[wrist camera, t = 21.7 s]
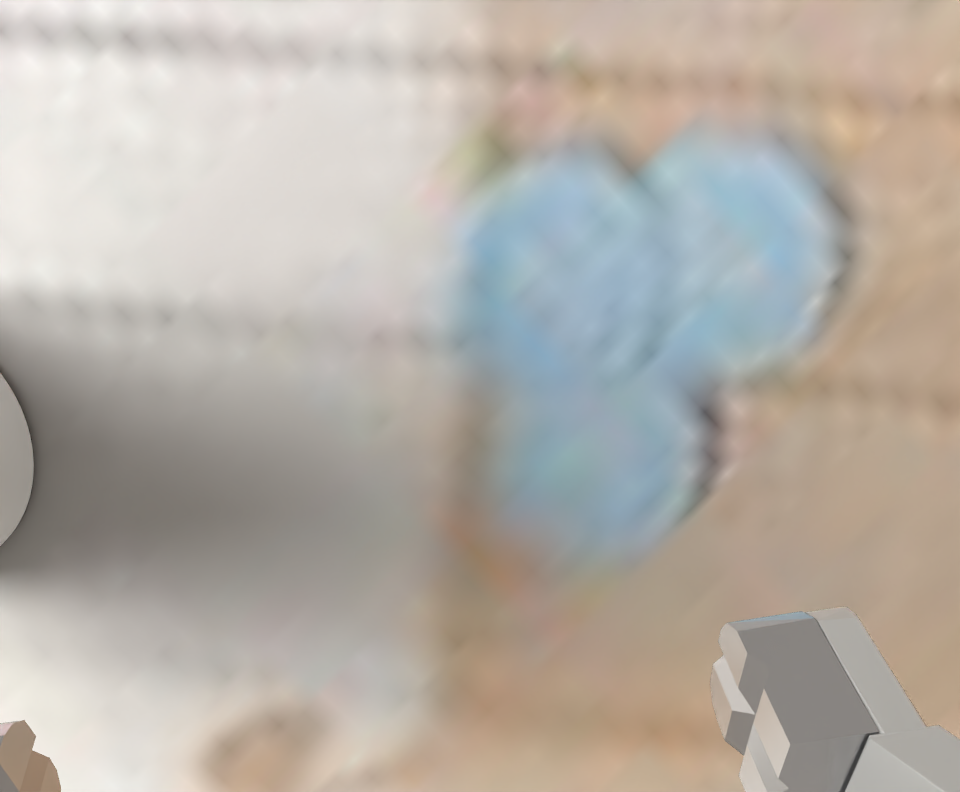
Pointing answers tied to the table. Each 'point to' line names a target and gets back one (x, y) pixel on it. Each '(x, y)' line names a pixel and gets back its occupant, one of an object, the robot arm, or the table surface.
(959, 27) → the table surface
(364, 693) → the table surface
